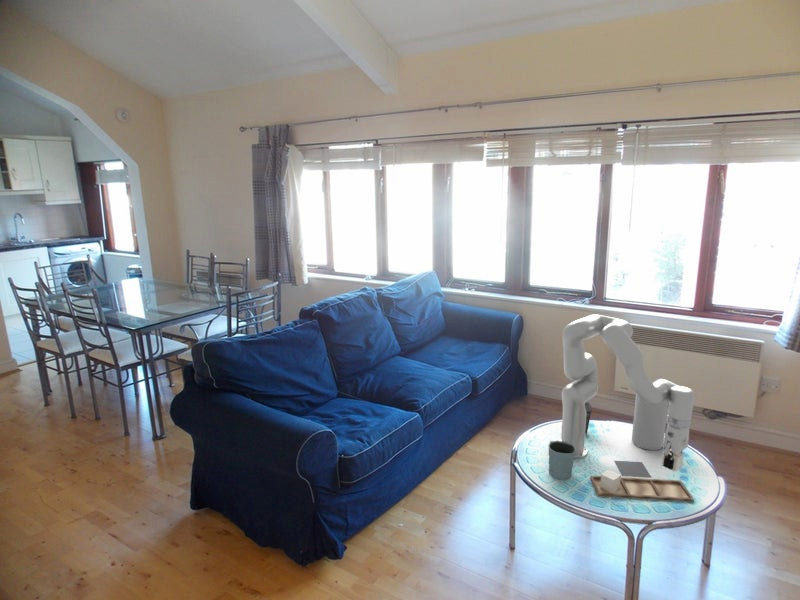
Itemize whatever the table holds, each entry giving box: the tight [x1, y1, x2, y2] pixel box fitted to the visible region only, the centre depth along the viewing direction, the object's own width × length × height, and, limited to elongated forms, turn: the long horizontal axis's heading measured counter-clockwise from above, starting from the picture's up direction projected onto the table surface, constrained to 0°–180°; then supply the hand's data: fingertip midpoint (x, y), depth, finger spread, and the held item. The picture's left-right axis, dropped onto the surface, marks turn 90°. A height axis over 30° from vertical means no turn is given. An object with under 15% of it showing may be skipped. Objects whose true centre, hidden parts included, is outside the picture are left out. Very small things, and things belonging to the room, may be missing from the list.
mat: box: [613, 460, 653, 479], centre depth 201 cm, size 11×11×1 cm
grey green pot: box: [548, 440, 576, 481], centre depth 197 cm, size 10×10×12 cm
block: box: [600, 469, 622, 493], centre depth 188 cm, size 5×5×6 cm
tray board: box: [589, 475, 695, 503], centre depth 187 cm, size 33×12×1 cm, turn 82°
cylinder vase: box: [631, 393, 669, 451], centre depth 217 cm, size 12×12×25 cm
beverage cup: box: [585, 400, 593, 435], centre depth 229 cm, size 7×7×20 cm
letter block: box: [661, 449, 685, 473], centre depth 183 cm, size 5×5×6 cm
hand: (671, 464), depth 184 cm, fingers closed on letter block, 5 cm apart
